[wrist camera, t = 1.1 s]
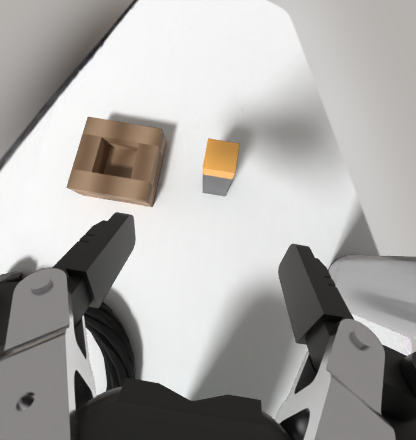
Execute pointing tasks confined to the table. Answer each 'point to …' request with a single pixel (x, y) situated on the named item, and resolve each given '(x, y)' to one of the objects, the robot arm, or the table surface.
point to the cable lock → (103, 339)
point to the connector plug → (219, 166)
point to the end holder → (118, 162)
